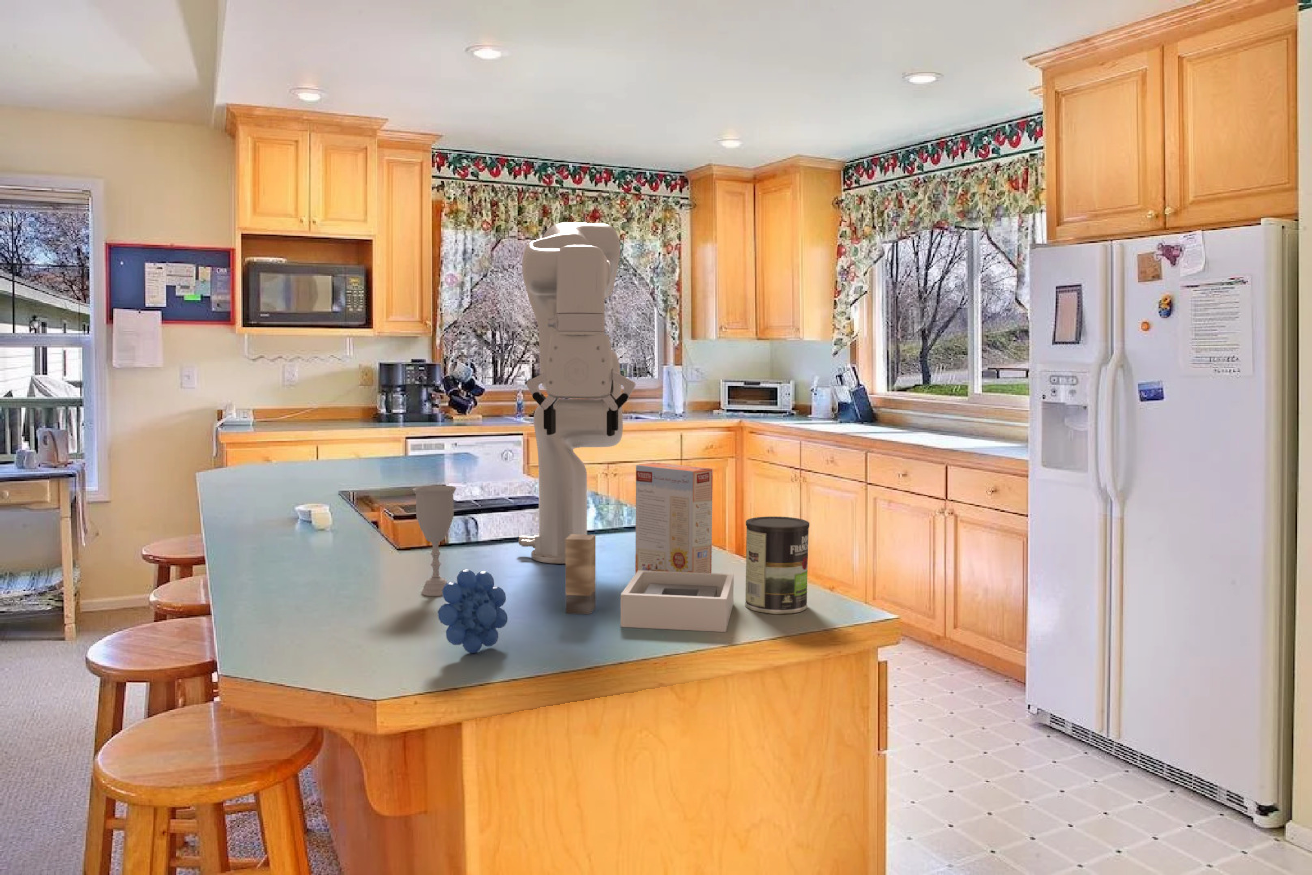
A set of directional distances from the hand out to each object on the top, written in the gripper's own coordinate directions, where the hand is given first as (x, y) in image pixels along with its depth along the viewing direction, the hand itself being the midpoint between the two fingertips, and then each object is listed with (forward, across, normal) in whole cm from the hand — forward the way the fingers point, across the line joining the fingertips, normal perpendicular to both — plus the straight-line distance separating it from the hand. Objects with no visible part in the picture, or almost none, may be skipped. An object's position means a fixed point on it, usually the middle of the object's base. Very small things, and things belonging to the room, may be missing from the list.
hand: (580, 434), depth 155 cm
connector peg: (+28, 0, 0) cm, 28 cm away
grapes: (+29, -9, -24) cm, 38 cm away
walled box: (+28, +16, 0) cm, 33 cm away
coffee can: (+29, +31, +8) cm, 43 cm away
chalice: (+28, -27, +7) cm, 40 cm away
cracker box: (+28, +12, +23) cm, 39 cm away
